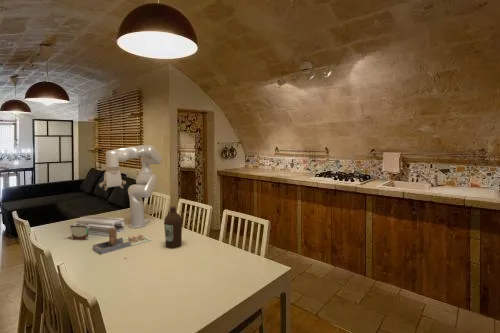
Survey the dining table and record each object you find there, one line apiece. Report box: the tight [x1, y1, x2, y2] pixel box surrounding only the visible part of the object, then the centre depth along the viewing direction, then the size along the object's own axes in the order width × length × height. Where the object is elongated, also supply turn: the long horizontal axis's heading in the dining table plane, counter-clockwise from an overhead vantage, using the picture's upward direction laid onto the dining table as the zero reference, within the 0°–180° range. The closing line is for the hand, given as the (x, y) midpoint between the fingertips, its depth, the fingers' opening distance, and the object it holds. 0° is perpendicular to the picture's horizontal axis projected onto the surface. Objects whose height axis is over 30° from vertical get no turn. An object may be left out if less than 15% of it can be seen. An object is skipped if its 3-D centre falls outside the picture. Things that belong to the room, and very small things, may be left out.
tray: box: [123, 235, 153, 247], centre depth 178 cm, size 13×14×2 cm
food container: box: [69, 222, 89, 241], centre depth 185 cm, size 12×6×10 cm, turn 84°
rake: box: [108, 228, 118, 247], centre depth 166 cm, size 3×8×12 cm, turn 49°
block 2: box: [134, 233, 145, 243], centre depth 179 cm, size 4×4×4 cm
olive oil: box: [163, 204, 183, 249], centre depth 172 cm, size 11×11×25 cm
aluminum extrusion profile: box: [74, 215, 125, 238], centre depth 200 cm, size 14×31×10 cm, turn 75°
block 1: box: [127, 234, 138, 244], centre depth 176 cm, size 4×4×4 cm
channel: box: [92, 237, 132, 255], centre depth 167 cm, size 17×11×4 cm
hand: (113, 195), depth 187 cm, fingers open, 9 cm apart
